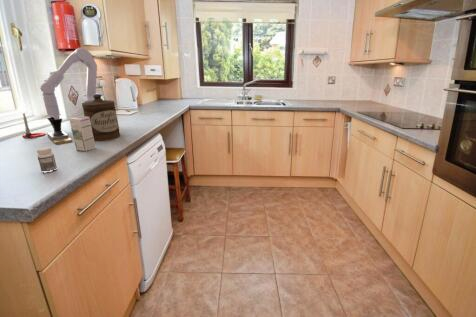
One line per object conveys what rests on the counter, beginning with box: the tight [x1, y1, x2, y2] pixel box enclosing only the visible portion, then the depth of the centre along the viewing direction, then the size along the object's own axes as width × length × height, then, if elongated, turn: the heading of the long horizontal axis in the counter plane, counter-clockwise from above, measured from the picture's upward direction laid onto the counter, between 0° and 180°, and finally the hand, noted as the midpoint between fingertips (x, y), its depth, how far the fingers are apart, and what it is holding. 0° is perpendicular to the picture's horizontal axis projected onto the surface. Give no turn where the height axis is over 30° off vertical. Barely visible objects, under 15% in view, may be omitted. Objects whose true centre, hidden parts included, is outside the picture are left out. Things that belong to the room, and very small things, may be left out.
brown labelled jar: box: [81, 93, 121, 142], centre depth 139 cm, size 15×15×22 cm
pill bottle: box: [36, 146, 58, 172], centre depth 98 cm, size 5×5×8 cm
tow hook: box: [22, 112, 46, 139], centre depth 146 cm, size 8×13×9 cm
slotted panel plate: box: [47, 130, 73, 145], centre depth 140 cm, size 7×19×2 cm, turn 42°
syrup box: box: [68, 115, 97, 152], centre depth 121 cm, size 6×6×14 cm
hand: (57, 130), depth 151 cm, fingers open, 5 cm apart
